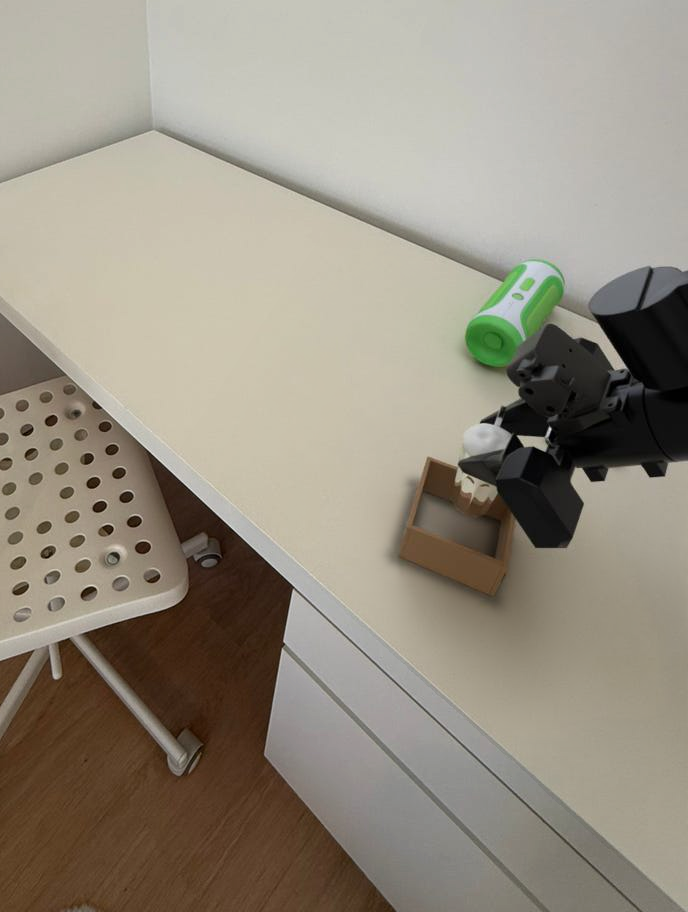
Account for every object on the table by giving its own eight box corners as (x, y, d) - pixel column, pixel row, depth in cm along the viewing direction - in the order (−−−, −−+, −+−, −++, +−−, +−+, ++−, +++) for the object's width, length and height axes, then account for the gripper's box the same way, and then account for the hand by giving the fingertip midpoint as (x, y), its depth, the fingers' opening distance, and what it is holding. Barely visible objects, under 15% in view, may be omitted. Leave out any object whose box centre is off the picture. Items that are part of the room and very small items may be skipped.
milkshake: (502, 488, 63) (532, 416, 57) (489, 532, 59) (520, 460, 53) (452, 467, 65) (477, 395, 59) (438, 509, 61) (462, 437, 55)
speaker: (510, 381, 83) (528, 336, 78) (454, 354, 86) (468, 310, 82) (558, 311, 93) (576, 268, 89) (506, 289, 97) (521, 247, 92)
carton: (506, 519, 67) (520, 490, 64) (494, 597, 61) (509, 568, 58) (418, 485, 71) (427, 455, 68) (397, 555, 64) (406, 526, 61)
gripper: (630, 261, 52) (460, 315, 64) (570, 409, 40) (374, 441, 52) (704, 376, 53) (522, 408, 65) (666, 555, 41) (452, 553, 53)
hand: (471, 445), depth 59 cm, fingers closed on milkshake, 5 cm apart
